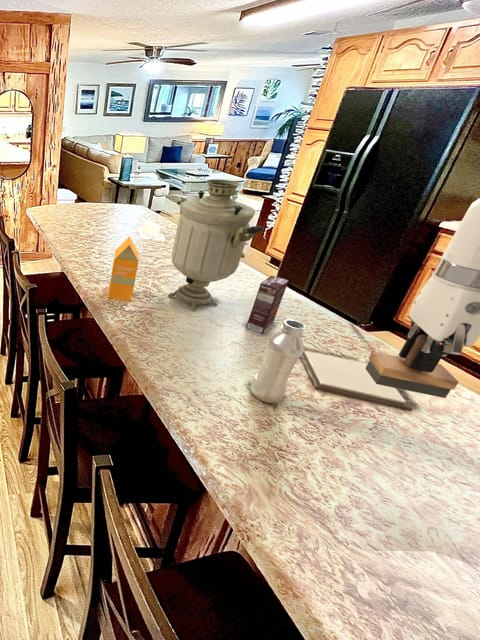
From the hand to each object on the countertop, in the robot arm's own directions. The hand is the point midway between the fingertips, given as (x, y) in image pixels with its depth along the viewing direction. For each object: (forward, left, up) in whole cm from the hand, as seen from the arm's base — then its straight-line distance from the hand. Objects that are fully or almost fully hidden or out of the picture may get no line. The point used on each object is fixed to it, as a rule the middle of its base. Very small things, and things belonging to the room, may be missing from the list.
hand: (414, 363), depth 71 cm
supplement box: (+14, -38, -19) cm, 44 cm away
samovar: (+29, -50, -19) cm, 61 cm away
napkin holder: (+48, -116, -19) cm, 127 cm away
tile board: (-3, -21, -19) cm, 28 cm away
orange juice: (+55, -44, -19) cm, 73 cm away
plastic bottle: (+18, -5, -19) cm, 27 cm away
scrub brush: (0, 0, -5) cm, 5 cm away
